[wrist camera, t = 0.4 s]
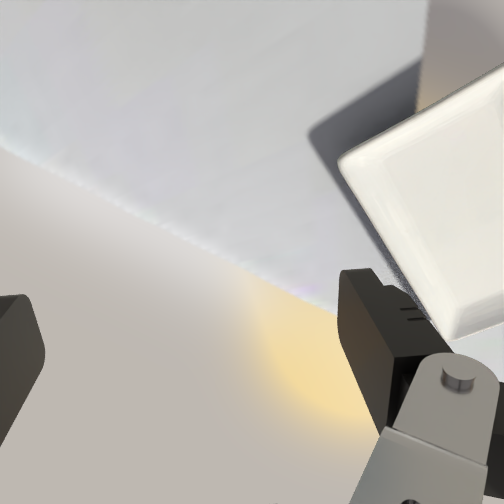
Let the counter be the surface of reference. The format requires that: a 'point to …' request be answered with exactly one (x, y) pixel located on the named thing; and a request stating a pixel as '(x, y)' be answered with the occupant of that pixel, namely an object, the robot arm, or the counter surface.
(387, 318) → the robot arm
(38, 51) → the counter surface
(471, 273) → the tray
